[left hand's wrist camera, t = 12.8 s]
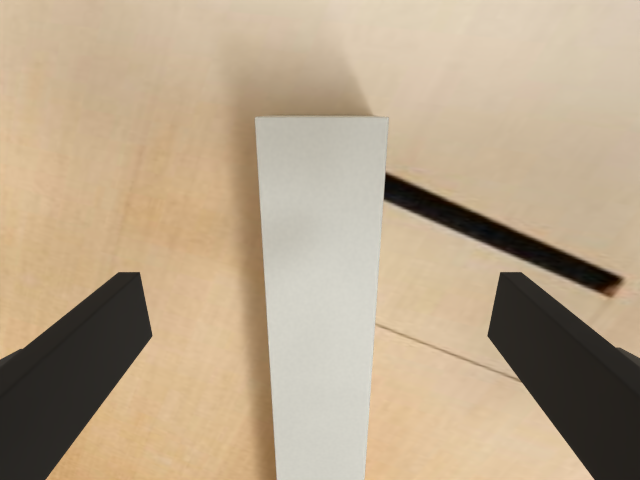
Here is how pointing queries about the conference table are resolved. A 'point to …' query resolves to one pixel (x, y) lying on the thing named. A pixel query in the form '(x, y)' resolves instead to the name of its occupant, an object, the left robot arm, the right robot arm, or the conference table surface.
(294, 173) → the wide beam
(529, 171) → the conference table surface
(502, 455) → the conference table surface
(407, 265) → the conference table surface
